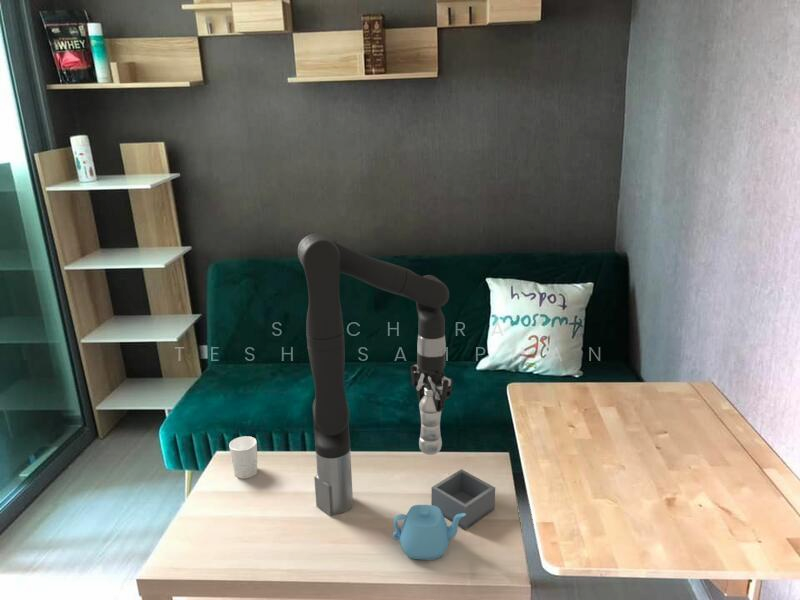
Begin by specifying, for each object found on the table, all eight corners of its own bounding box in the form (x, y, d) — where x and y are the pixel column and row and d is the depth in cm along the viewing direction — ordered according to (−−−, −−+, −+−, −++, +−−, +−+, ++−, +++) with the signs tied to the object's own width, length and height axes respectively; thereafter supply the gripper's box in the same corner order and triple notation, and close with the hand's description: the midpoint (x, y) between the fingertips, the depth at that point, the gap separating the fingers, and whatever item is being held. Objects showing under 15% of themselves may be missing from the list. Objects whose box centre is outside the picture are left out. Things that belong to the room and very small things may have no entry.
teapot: (466, 528, 147) (389, 525, 149) (465, 566, 151) (390, 562, 152) (465, 495, 159) (394, 492, 161) (465, 531, 162) (395, 527, 164)
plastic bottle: (444, 447, 180) (445, 383, 174) (438, 459, 174) (439, 394, 168) (422, 443, 182) (423, 380, 176) (415, 455, 176) (415, 390, 170)
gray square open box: (465, 530, 163) (465, 507, 160) (431, 509, 171) (431, 487, 169) (494, 509, 170) (495, 487, 168) (461, 490, 179) (461, 469, 176)
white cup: (238, 464, 193) (235, 435, 190) (263, 465, 192) (260, 436, 189) (228, 479, 186) (224, 449, 183) (254, 481, 185) (250, 451, 182)
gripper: (402, 346, 171) (402, 402, 176) (441, 362, 161) (440, 420, 166) (422, 339, 176) (421, 393, 181) (461, 353, 166) (459, 410, 171)
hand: (430, 406), depth 174 cm, fingers closed on plastic bottle, 6 cm apart
